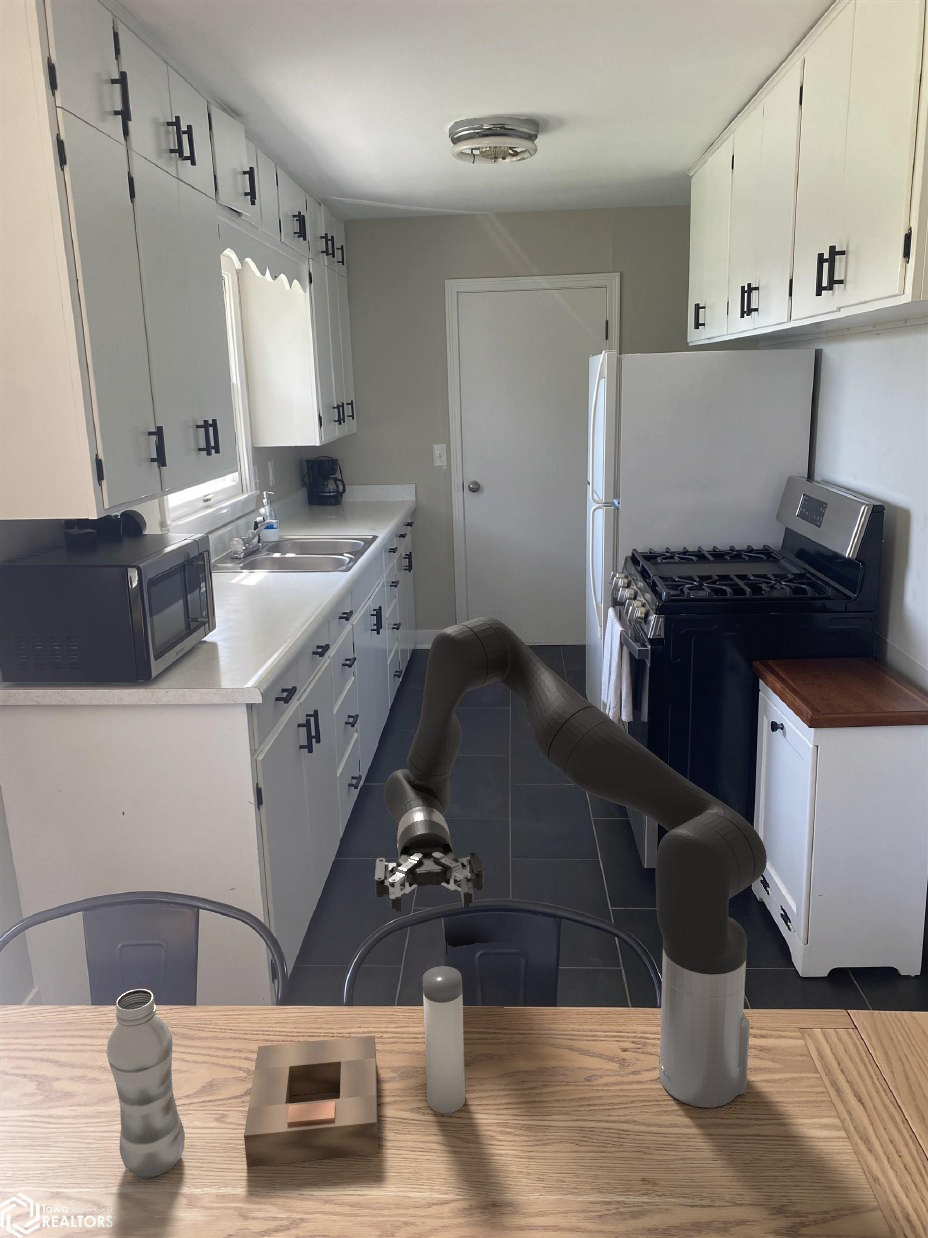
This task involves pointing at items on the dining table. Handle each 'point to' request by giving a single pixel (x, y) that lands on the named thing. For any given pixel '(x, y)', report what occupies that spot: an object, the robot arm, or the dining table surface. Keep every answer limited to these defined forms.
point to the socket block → (312, 1102)
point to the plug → (444, 1039)
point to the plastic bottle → (144, 1086)
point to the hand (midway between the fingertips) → (432, 903)
